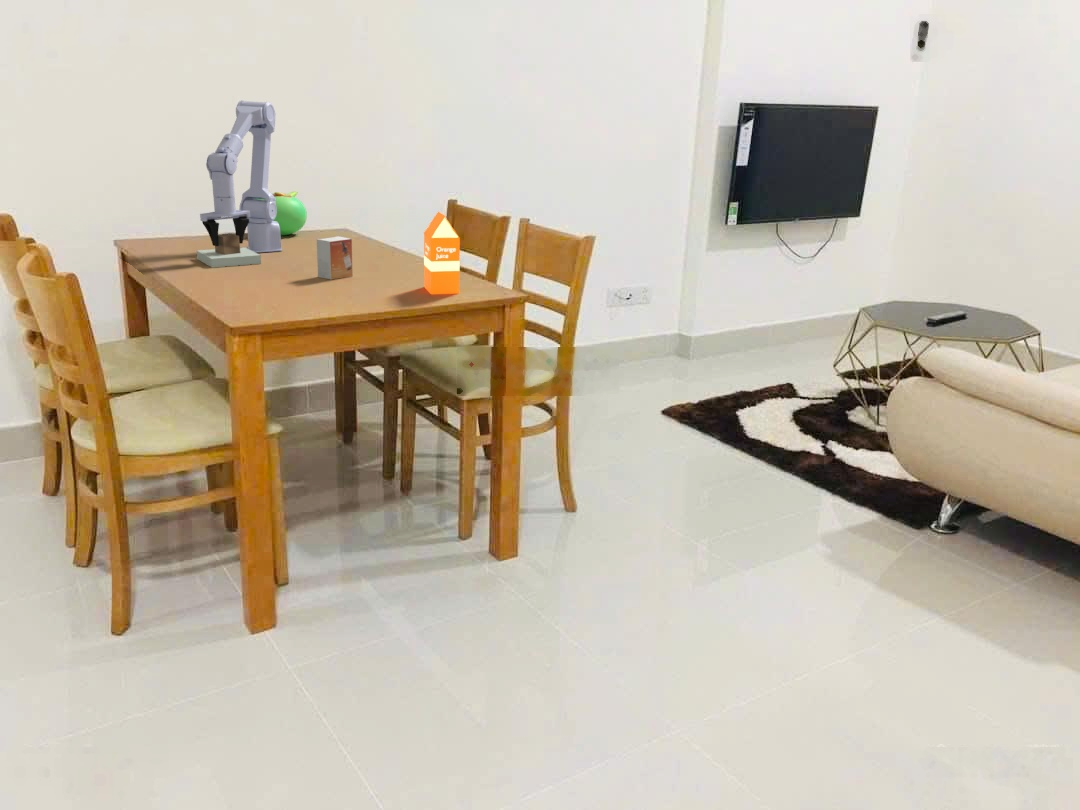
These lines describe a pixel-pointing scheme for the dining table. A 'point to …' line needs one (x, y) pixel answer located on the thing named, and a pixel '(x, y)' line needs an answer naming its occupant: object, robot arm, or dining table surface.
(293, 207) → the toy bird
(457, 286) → the orange juice
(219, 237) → the walnut cube
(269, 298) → the dining table surface
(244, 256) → the base
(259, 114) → the robot arm
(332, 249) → the small box
